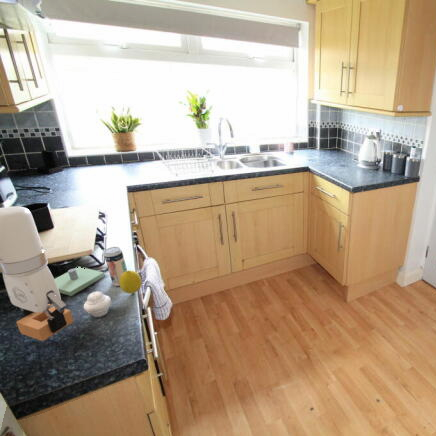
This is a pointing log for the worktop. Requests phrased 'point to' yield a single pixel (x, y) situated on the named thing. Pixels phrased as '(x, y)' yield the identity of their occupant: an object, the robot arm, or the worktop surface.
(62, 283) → the board
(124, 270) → the beer can
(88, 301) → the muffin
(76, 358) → the worktop surface
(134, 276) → the lemon
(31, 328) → the orange block with hole
